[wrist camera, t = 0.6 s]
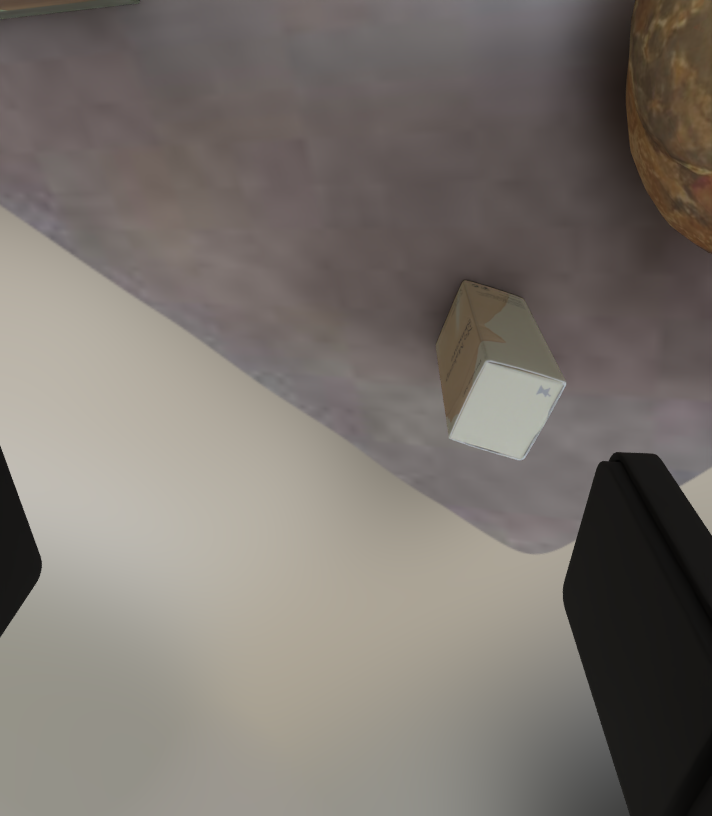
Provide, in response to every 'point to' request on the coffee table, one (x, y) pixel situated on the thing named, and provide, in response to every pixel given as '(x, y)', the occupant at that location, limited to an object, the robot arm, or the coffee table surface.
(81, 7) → the wood and green block
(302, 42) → the coffee table surface
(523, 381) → the box
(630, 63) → the ceramic vessel
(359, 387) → the coffee table surface
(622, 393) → the coffee table surface
